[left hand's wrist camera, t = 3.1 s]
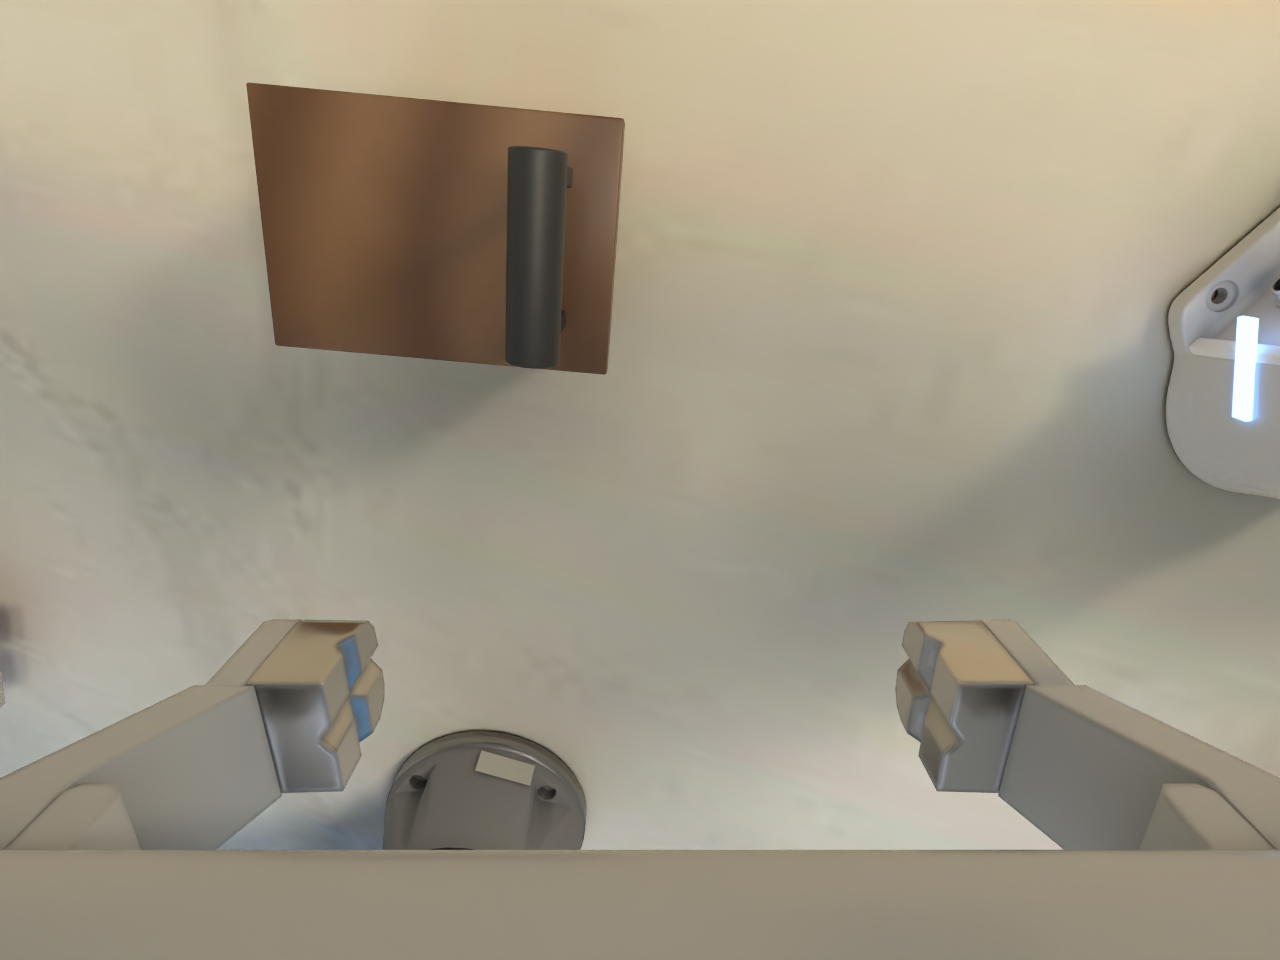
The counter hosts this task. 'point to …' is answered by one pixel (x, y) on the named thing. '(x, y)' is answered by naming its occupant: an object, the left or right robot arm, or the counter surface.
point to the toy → (1, 692)
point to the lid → (438, 227)
